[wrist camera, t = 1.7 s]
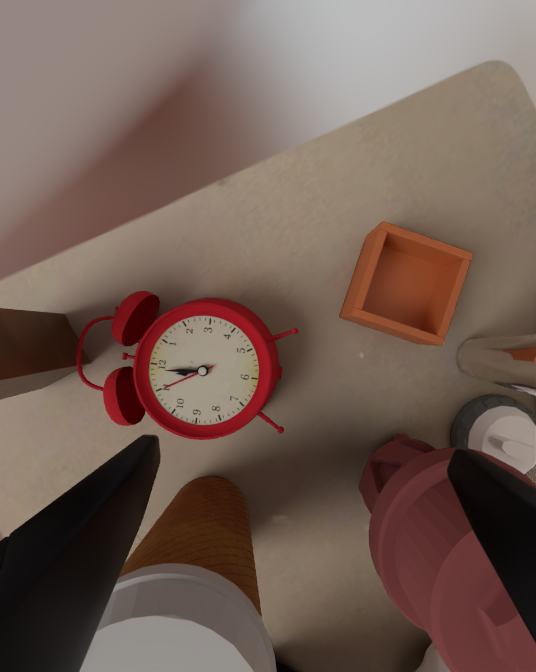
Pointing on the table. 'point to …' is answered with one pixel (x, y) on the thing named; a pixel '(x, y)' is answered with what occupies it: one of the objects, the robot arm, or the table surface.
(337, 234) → the table surface
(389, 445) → the mechanical component
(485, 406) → the stove knob
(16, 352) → the brown rectangular block
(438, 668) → the figurine
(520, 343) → the milkshake
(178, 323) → the alarm clock
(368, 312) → the socket pad
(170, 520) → the disposable coffee cup
